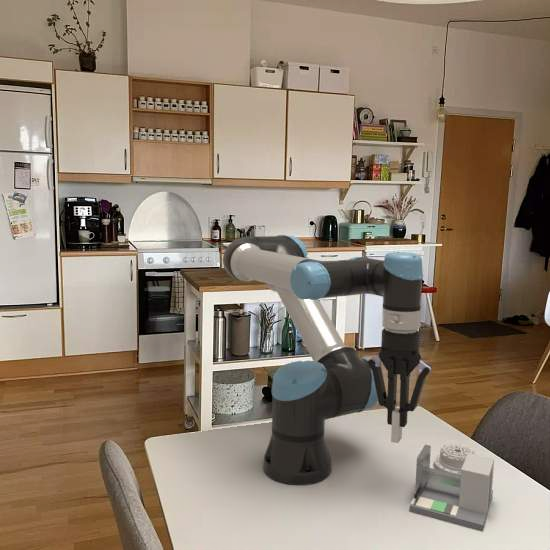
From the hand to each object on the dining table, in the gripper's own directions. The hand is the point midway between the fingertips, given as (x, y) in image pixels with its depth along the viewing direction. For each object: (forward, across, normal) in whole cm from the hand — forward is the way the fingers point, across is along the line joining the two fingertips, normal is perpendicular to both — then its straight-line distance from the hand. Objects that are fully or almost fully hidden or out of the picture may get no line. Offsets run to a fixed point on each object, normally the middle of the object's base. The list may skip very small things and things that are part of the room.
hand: (396, 439), depth 117 cm
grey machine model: (+8, +10, -1) cm, 13 cm away
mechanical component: (+11, +10, +15) cm, 21 cm away
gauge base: (+10, +12, -1) cm, 16 cm away
